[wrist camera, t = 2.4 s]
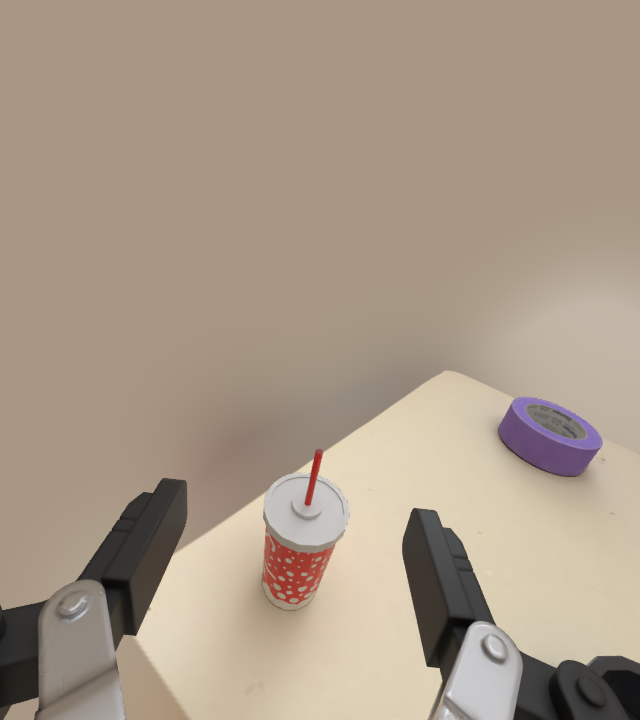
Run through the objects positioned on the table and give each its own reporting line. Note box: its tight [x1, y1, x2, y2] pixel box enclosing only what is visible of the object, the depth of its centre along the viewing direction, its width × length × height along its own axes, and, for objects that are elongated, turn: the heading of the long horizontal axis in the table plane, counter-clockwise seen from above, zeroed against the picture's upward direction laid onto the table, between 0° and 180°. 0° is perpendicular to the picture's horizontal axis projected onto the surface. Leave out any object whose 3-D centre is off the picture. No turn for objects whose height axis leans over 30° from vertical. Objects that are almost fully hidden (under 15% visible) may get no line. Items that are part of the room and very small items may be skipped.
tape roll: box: [499, 397, 603, 476], centre depth 51 cm, size 12×12×5 cm
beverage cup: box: [262, 449, 350, 610], centre depth 26 cm, size 6×6×14 cm
